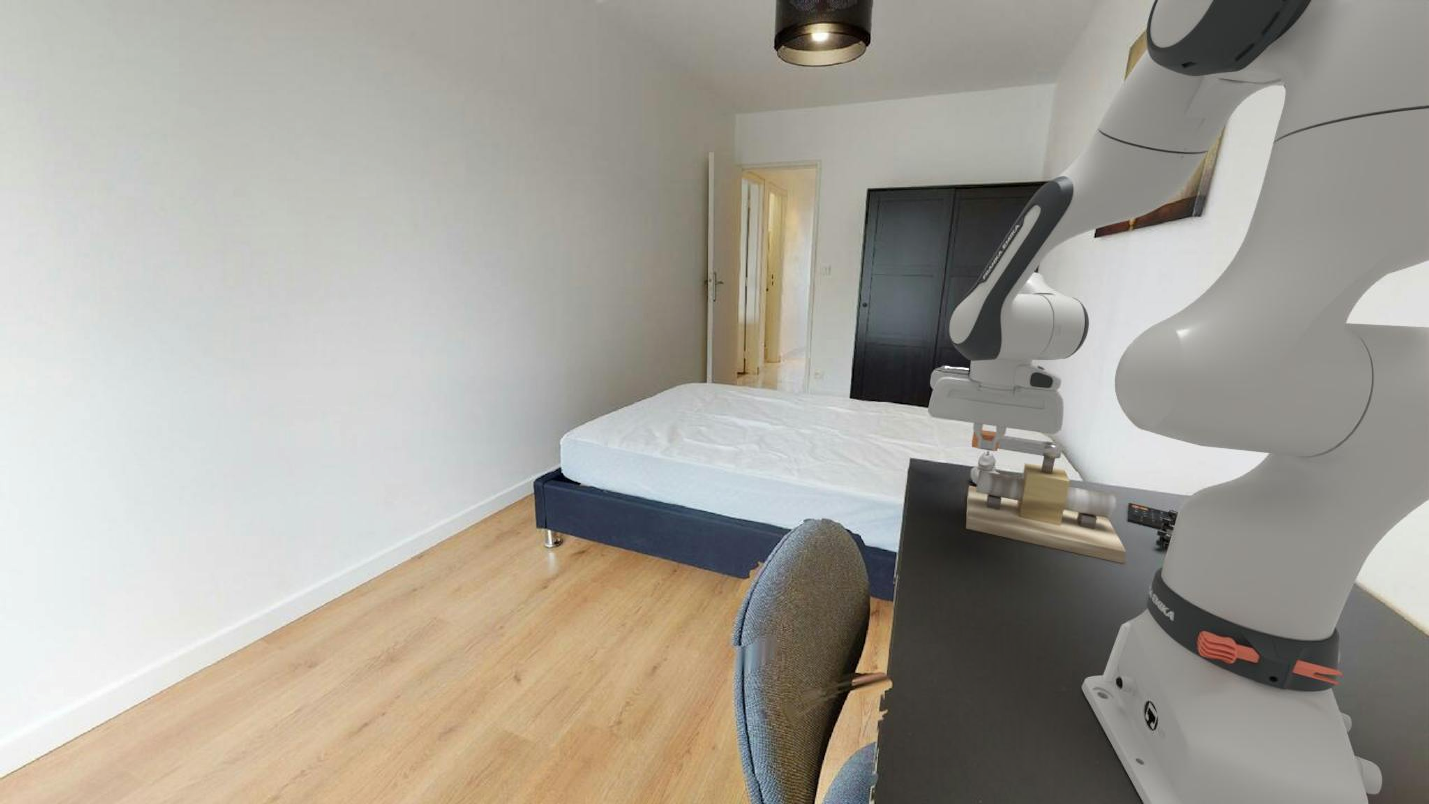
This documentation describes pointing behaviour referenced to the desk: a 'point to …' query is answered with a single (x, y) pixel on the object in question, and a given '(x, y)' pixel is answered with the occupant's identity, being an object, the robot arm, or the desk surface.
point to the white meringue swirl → (984, 466)
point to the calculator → (1146, 516)
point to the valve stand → (1045, 511)
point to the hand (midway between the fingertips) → (985, 449)
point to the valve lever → (1022, 445)
